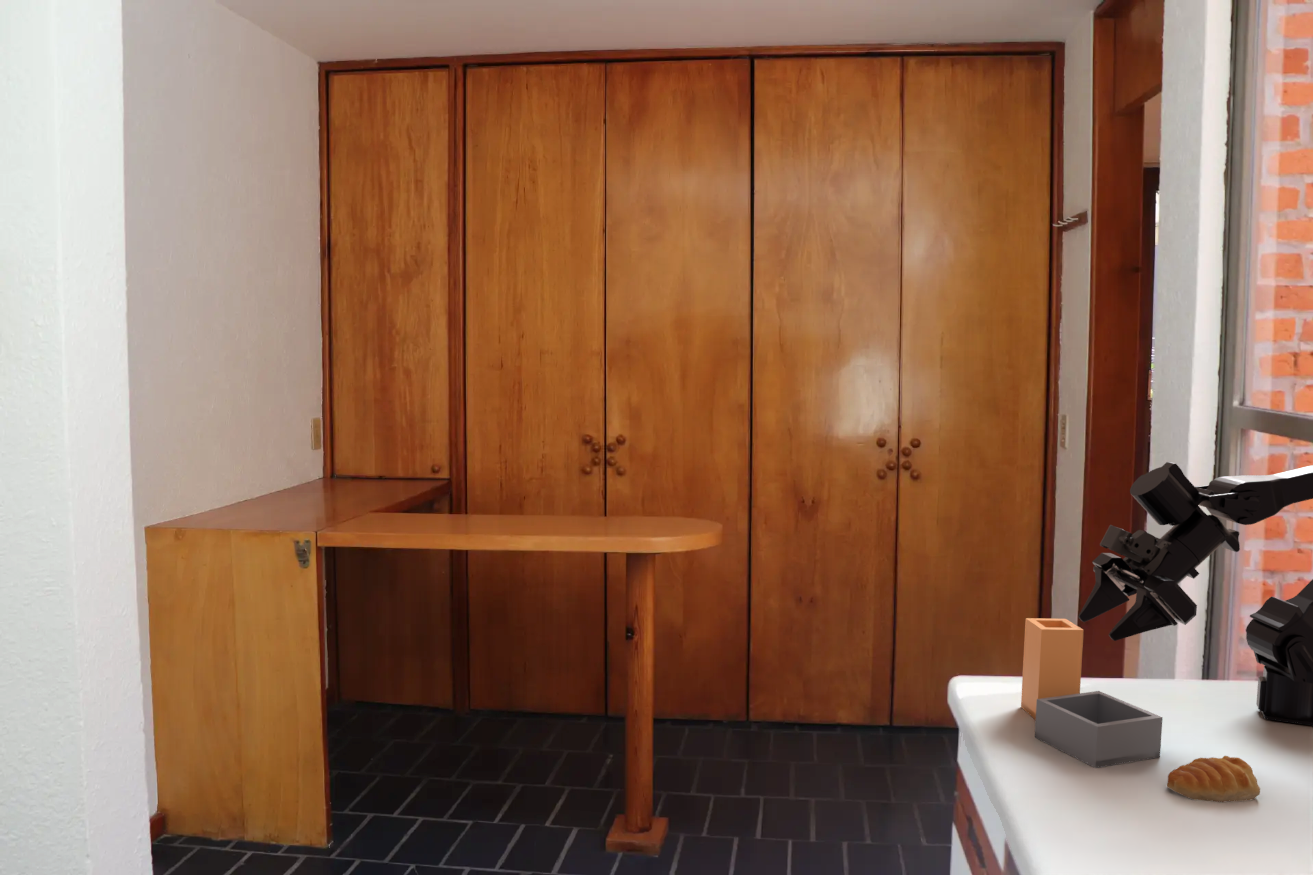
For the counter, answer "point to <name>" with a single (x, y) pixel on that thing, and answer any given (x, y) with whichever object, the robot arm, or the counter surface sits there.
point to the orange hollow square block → (1050, 660)
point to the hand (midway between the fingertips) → (1095, 628)
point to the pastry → (1215, 780)
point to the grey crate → (1098, 728)
